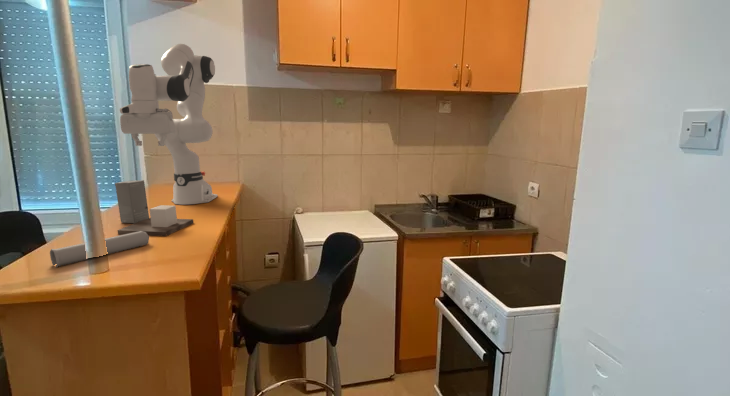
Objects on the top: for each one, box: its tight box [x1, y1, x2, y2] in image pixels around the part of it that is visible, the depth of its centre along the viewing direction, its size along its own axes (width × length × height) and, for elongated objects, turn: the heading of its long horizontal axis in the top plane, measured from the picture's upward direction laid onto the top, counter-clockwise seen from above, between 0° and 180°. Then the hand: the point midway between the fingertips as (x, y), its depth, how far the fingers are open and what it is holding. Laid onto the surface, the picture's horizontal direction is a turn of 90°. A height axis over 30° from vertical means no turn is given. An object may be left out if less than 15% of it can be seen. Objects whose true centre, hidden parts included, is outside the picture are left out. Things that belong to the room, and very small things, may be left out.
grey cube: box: [149, 204, 178, 227], centre depth 142 cm, size 6×6×6 cm
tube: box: [49, 231, 150, 268], centre depth 117 cm, size 5×5×25 cm
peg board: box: [117, 217, 194, 237], centre depth 143 cm, size 17×18×6 cm
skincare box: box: [114, 179, 150, 224], centre depth 153 cm, size 8×7×16 cm
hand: (150, 145), depth 150 cm, fingers open, 8 cm apart
